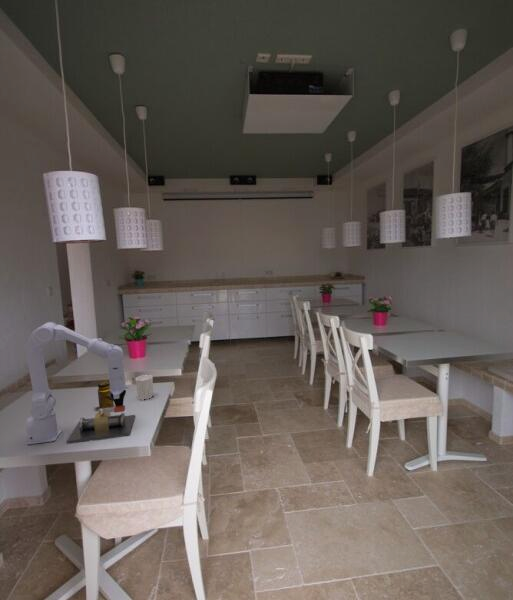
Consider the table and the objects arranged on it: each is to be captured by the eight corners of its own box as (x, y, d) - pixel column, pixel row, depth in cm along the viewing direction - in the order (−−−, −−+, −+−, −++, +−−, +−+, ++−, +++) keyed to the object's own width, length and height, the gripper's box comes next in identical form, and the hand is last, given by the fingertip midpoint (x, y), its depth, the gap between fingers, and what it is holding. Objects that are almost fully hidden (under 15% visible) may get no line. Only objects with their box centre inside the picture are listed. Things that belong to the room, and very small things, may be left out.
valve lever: (97, 414, 136) (97, 410, 136) (99, 411, 138) (99, 407, 138) (123, 411, 138) (123, 407, 137) (125, 409, 140) (124, 405, 140)
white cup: (157, 396, 170) (156, 376, 169) (144, 402, 164) (142, 381, 162) (146, 393, 174) (145, 373, 173) (133, 398, 168) (131, 378, 166)
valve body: (66, 443, 128) (64, 425, 127) (79, 423, 144) (77, 407, 143) (129, 435, 133) (128, 418, 132) (135, 417, 148) (134, 401, 147)
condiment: (116, 409, 157) (113, 383, 156) (95, 414, 152) (93, 387, 151) (112, 403, 163) (110, 379, 162) (93, 408, 159) (90, 383, 157)
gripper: (126, 381, 133) (129, 415, 134) (128, 370, 147) (131, 400, 148) (106, 384, 131) (109, 418, 132) (110, 372, 145) (113, 403, 146)
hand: (119, 409), depth 140 cm, fingers closed
